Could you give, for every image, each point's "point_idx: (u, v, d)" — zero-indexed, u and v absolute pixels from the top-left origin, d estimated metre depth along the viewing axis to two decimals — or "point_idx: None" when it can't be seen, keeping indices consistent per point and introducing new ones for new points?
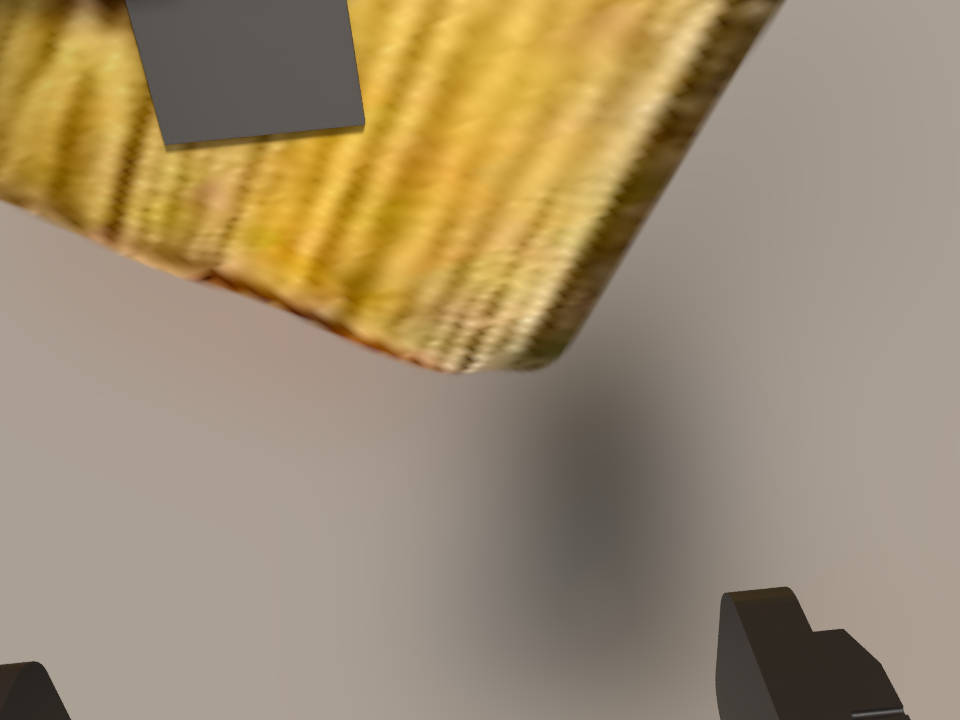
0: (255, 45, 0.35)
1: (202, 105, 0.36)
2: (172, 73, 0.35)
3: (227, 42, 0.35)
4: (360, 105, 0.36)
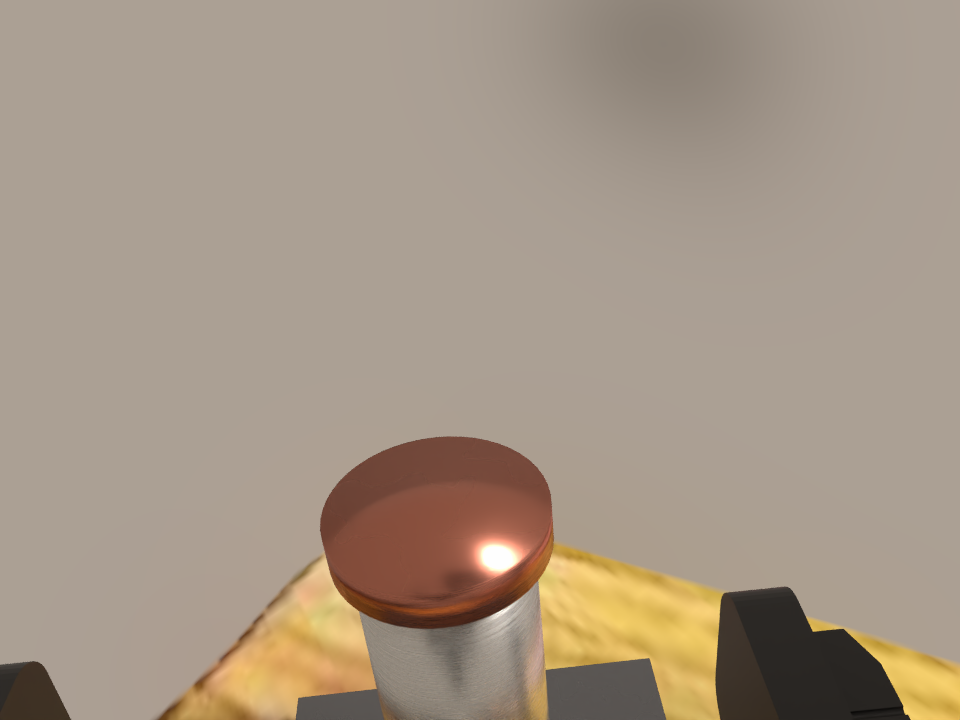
0: None
1: None
2: None
3: None
4: None
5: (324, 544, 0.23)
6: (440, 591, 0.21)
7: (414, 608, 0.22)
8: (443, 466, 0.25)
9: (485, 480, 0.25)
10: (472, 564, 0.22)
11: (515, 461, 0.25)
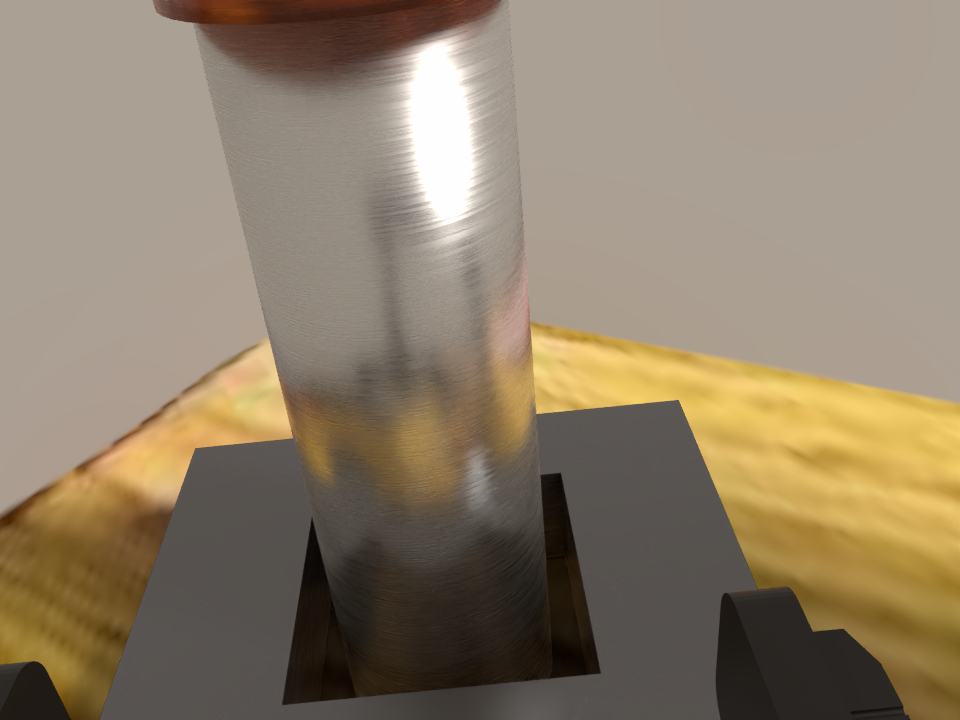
0: None
1: None
2: None
3: None
4: None
5: None
6: None
7: None
8: None
9: None
10: None
11: None
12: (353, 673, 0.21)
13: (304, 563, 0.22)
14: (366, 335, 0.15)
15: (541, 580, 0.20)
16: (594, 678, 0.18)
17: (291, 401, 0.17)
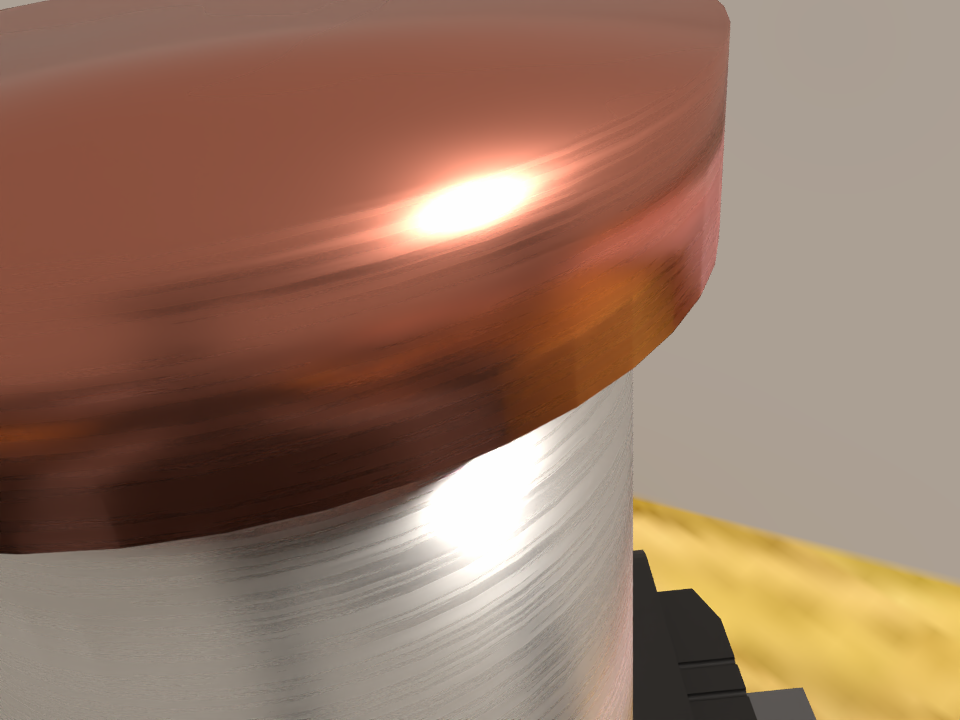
0: None
1: None
2: None
3: None
4: None
5: None
6: (23, 257, 0.03)
7: None
8: None
9: None
10: (305, 151, 0.04)
11: None
12: None
13: None
14: None
15: None
16: None
17: None
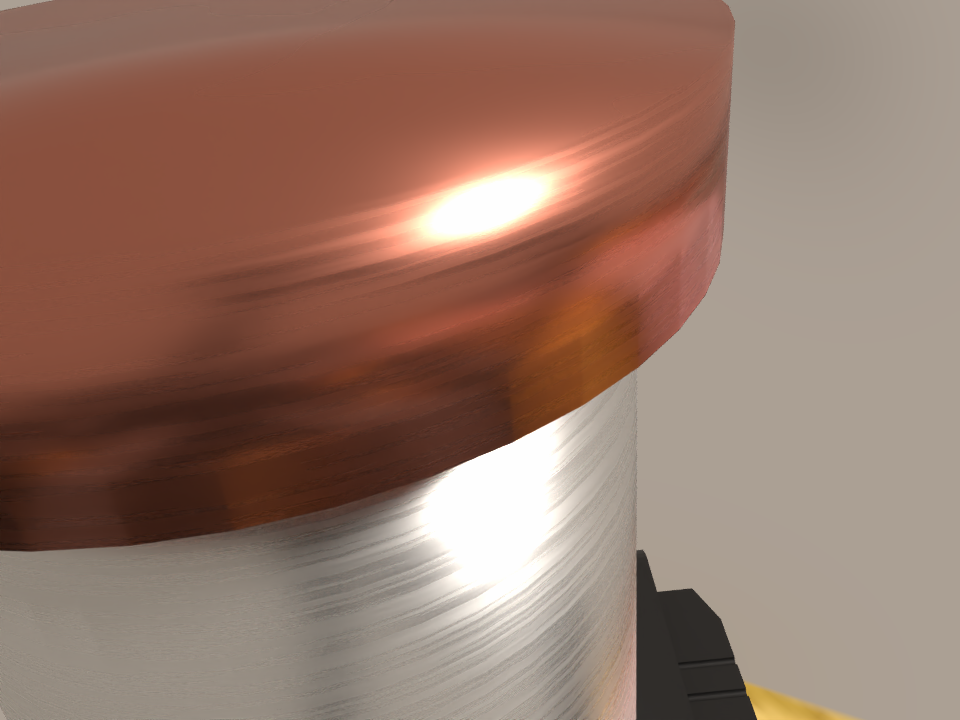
0: None
1: None
2: None
3: None
4: None
5: None
6: (37, 255, 0.03)
7: None
8: None
9: None
10: (313, 152, 0.04)
11: None
12: None
13: None
14: None
15: None
16: None
17: None
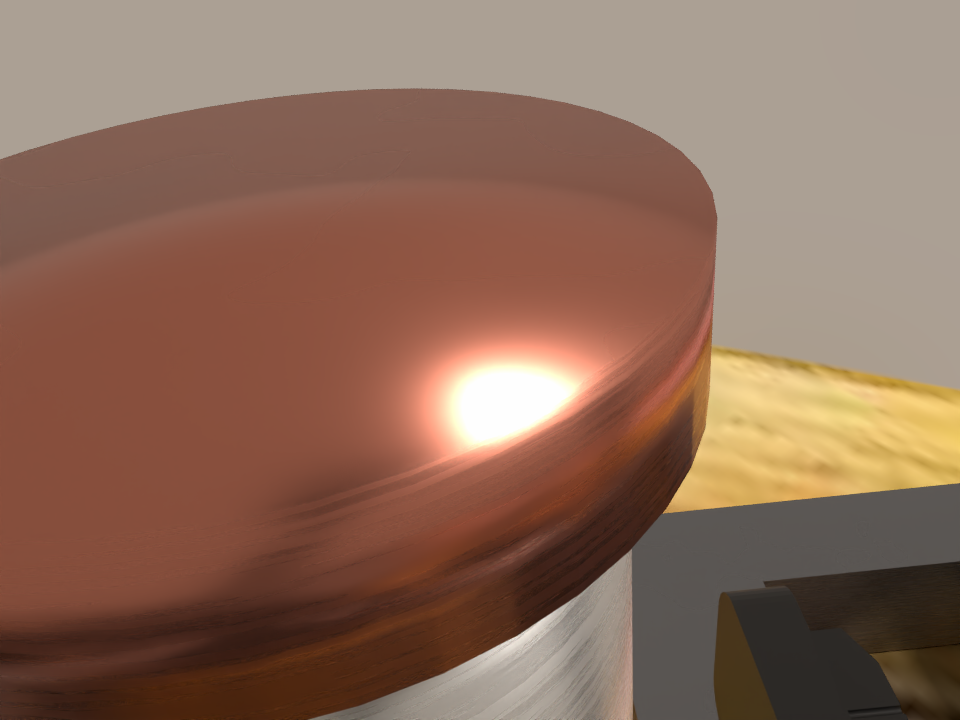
0: None
1: None
2: None
3: None
4: None
5: None
6: (108, 531, 0.03)
7: None
8: (304, 137, 0.07)
9: (443, 155, 0.07)
10: (342, 394, 0.04)
11: (550, 117, 0.07)
12: None
13: None
14: None
15: None
16: None
17: None
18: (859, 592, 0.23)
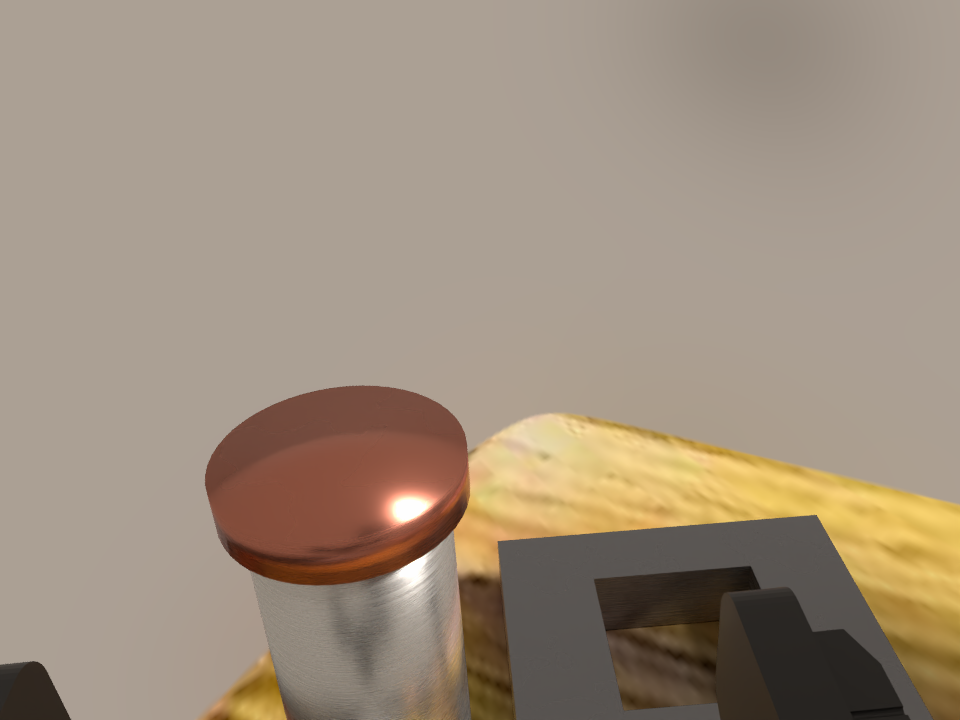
0: None
1: None
2: None
3: None
4: None
5: (207, 490, 0.20)
6: (328, 540, 0.19)
7: (299, 560, 0.19)
8: (352, 414, 0.23)
9: (396, 429, 0.22)
10: (369, 512, 0.19)
11: (432, 411, 0.23)
12: None
13: (603, 623, 0.36)
14: None
15: None
16: None
17: None
18: (652, 587, 0.38)
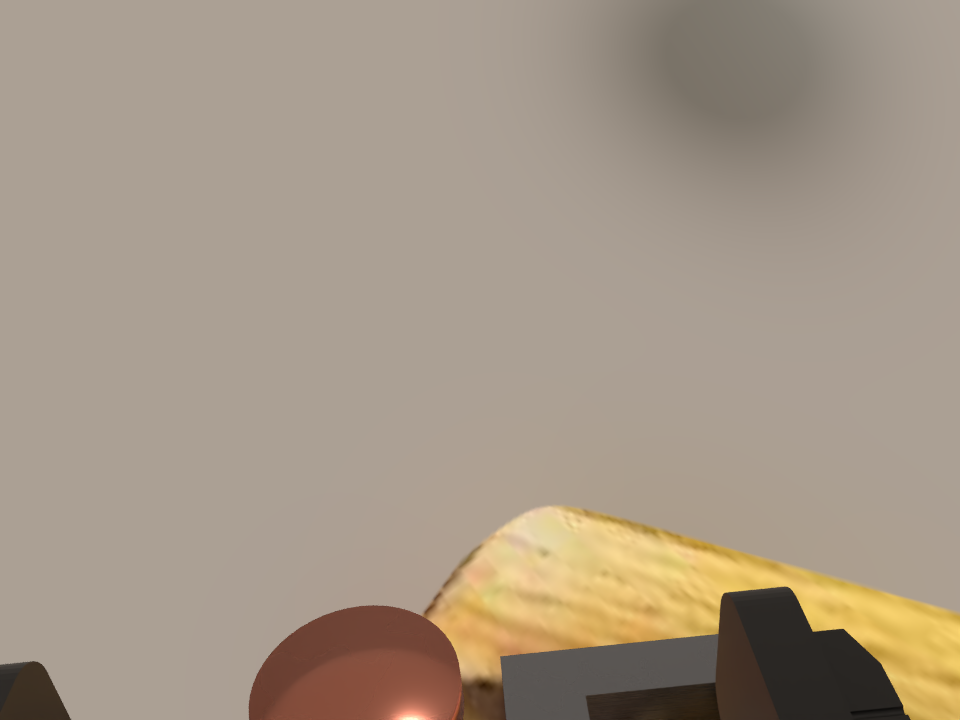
0: None
1: None
2: None
3: None
4: None
5: None
6: None
7: None
8: (367, 638, 0.28)
9: (403, 656, 0.27)
10: None
11: (432, 635, 0.27)
12: None
13: None
14: None
15: None
16: None
17: None
18: (638, 700, 0.43)
